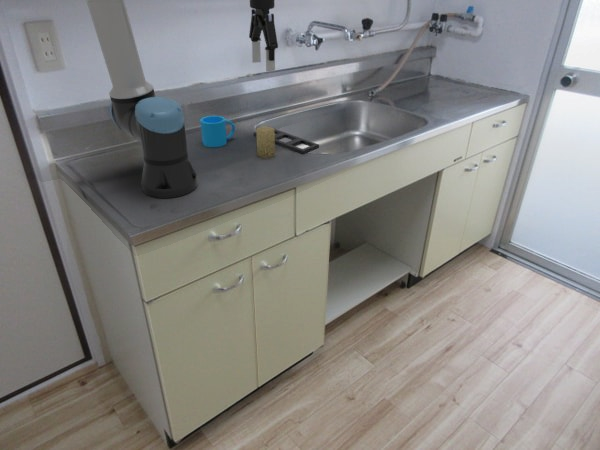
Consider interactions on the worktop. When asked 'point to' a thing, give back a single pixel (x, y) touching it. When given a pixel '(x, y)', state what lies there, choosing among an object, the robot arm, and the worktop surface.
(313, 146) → the dark slotted tray
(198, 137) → the worktop surface
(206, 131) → the mug
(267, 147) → the nut block
